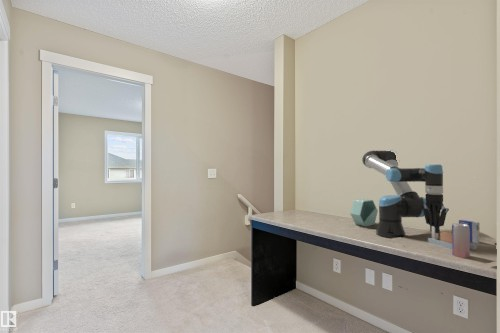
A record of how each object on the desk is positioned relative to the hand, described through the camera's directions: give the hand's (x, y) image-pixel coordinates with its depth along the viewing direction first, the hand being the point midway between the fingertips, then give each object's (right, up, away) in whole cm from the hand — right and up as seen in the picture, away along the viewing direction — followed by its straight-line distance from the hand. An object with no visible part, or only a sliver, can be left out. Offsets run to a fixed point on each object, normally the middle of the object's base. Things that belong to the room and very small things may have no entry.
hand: (435, 238), depth 132 cm
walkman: (+18, -3, 0) cm, 18 cm away
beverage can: (-4, -3, -21) cm, 22 cm away
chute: (+3, -3, -7) cm, 8 cm away
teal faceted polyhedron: (-17, -3, +45) cm, 48 cm away
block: (+3, -1, -7) cm, 8 cm away
